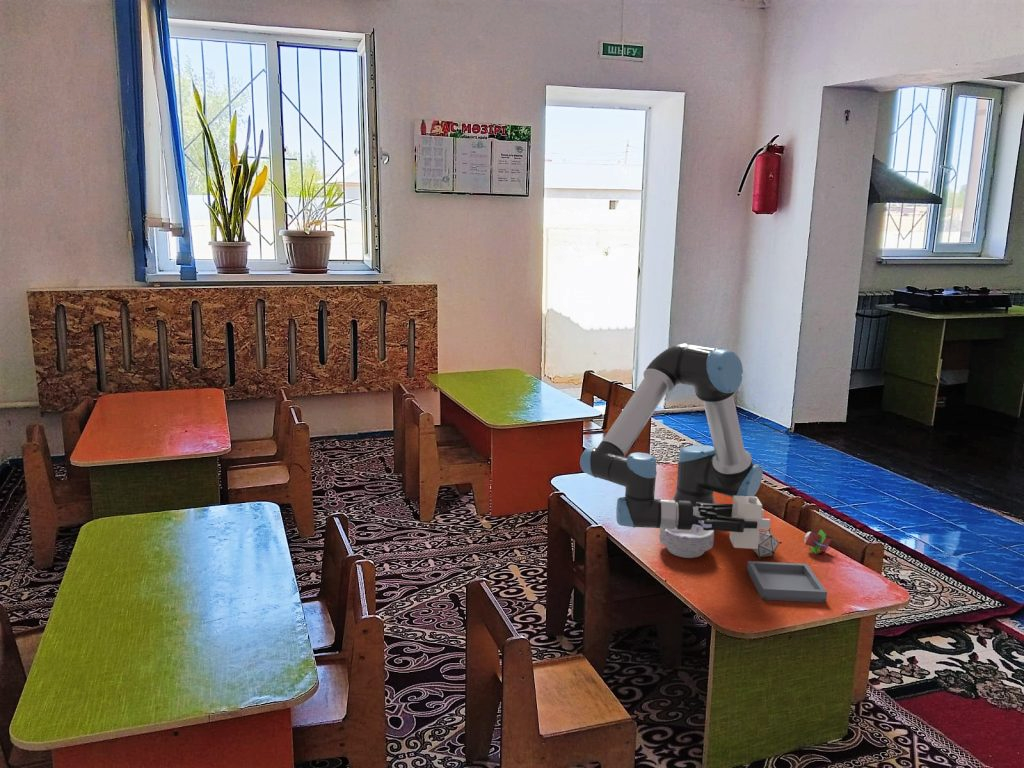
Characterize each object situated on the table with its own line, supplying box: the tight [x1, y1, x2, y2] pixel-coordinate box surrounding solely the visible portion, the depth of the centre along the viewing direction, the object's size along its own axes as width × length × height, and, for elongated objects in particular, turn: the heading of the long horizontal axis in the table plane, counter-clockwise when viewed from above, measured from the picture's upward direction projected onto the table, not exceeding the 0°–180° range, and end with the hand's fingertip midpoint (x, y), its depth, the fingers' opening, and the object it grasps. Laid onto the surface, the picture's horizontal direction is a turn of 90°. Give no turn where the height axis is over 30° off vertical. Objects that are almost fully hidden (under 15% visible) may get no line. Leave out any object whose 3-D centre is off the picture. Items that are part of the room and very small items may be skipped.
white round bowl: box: [659, 524, 715, 559], centre depth 222 cm, size 15×15×8 cm
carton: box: [729, 496, 763, 550], centre depth 200 cm, size 6×6×13 cm
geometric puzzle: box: [803, 528, 832, 555], centre depth 224 cm, size 7×7×8 cm
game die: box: [752, 528, 783, 560], centre depth 220 cm, size 9×8×10 cm
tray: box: [746, 560, 828, 604], centre depth 203 cm, size 16×16×3 cm
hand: (766, 519), depth 199 cm, fingers closed on carton, 6 cm apart
